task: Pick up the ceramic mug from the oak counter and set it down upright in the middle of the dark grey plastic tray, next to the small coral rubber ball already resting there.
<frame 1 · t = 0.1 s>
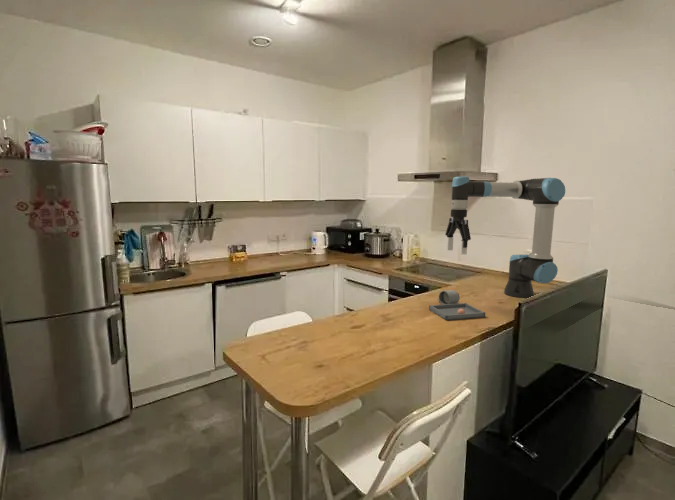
hand: (456, 252, 184), 28 cm above the table, fingers open, 13 cm apart
ceramic mug: (446, 304, 193), on the table
ball: (464, 310, 172), point 3 cm above the table, tilted 120°, touching tray
tray: (456, 313, 177), on the table
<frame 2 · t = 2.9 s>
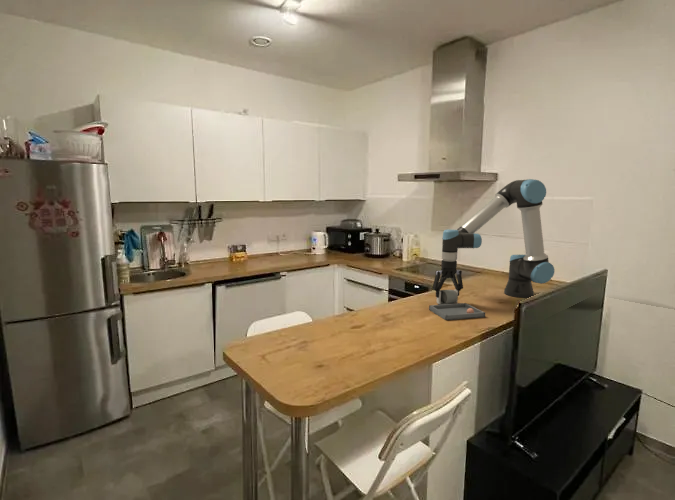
hand: (447, 302, 193), 0 cm above the table, fingers closed on ceramic mug, 9 cm apart
ceramic mug: (445, 303, 193), on the table, touching gripper
ball: (467, 313, 172), point 1 cm above the table, tilted 51°, touching tray
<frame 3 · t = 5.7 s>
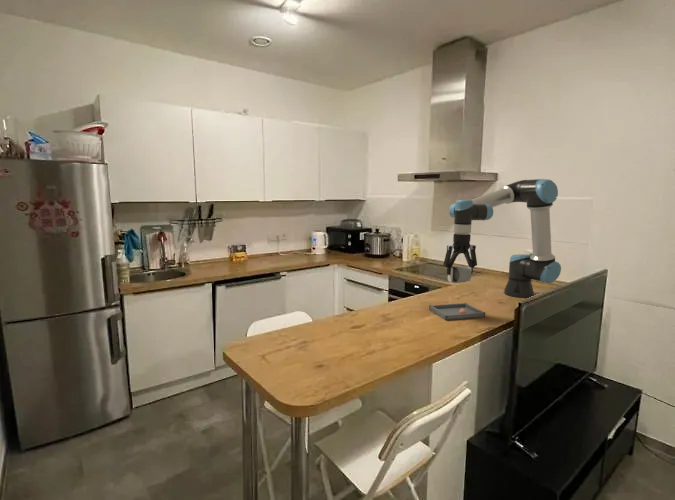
hand: (459, 281, 175), 16 cm above the table, fingers closed on ceramic mug, 9 cm apart
ceramic mug: (457, 282, 176), point 15 cm above the table, touching gripper
ball: (465, 311, 172), point 2 cm above the table, tilted 89°, touching tray
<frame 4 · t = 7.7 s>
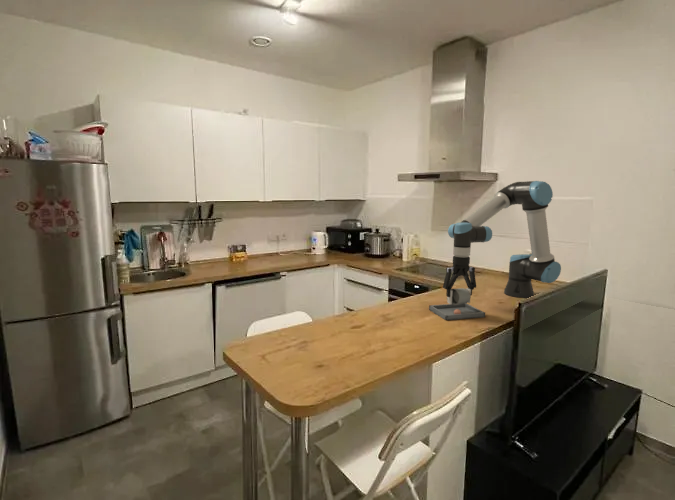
hand: (458, 302, 176), 5 cm above the table, fingers closed on ceramic mug, 9 cm apart
ceramic mug: (456, 303, 177), point 4 cm above the table, touching gripper
ball: (457, 309, 171), point 4 cm above the table, tilted 171°, touching tray
when the fingers open (2 cm above the table, at t = 8.9 s): ceramic mug stays where it is, resting on tray.
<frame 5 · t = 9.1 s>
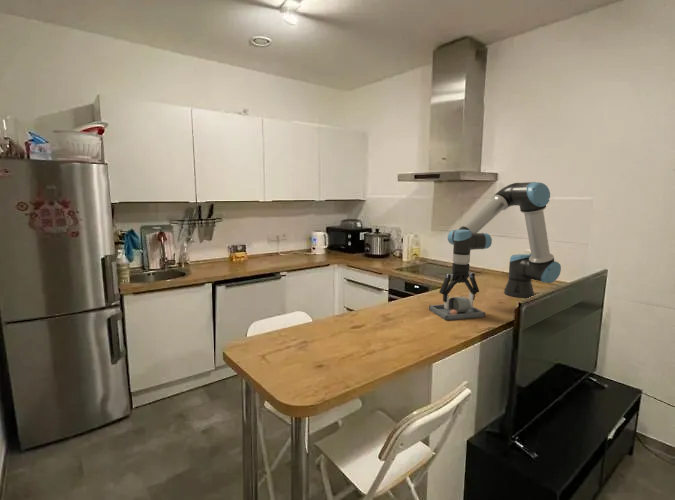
hand: (458, 307, 177), 3 cm above the table, fingers open, 12 cm apart
ceramic mug: (456, 311, 178), resting on tray
ball: (450, 312, 170), point 3 cm above the table, tilted 101°, touching tray
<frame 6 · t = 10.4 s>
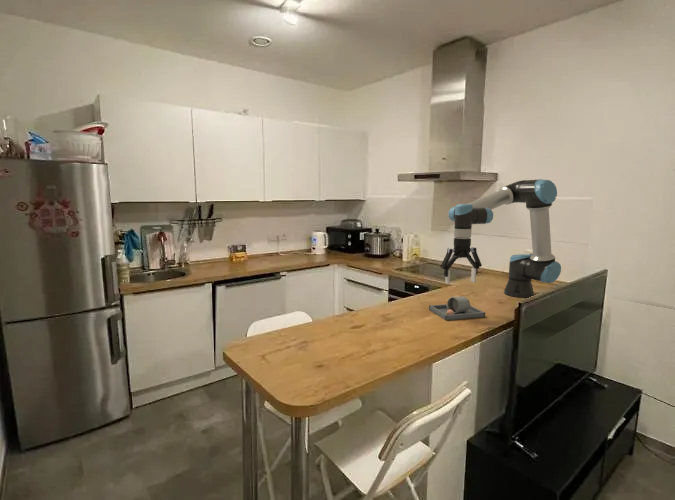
hand: (460, 282, 175), 15 cm above the table, fingers open, 13 cm apart
ball: (448, 315, 170), point 1 cm above the table, tilted 36°, touching tray
everything else where it was.
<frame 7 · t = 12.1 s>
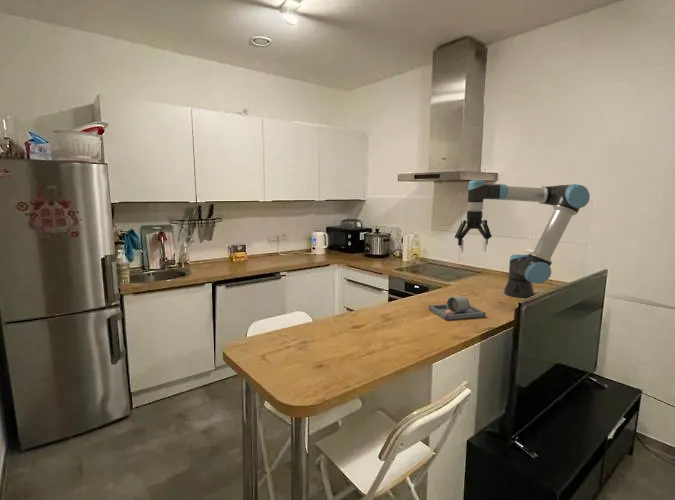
hand: (472, 251, 195), 27 cm above the table, fingers open, 13 cm apart
ball: (447, 316, 170), point 1 cm above the table, tilted 12°, touching tray
everything else where it was.
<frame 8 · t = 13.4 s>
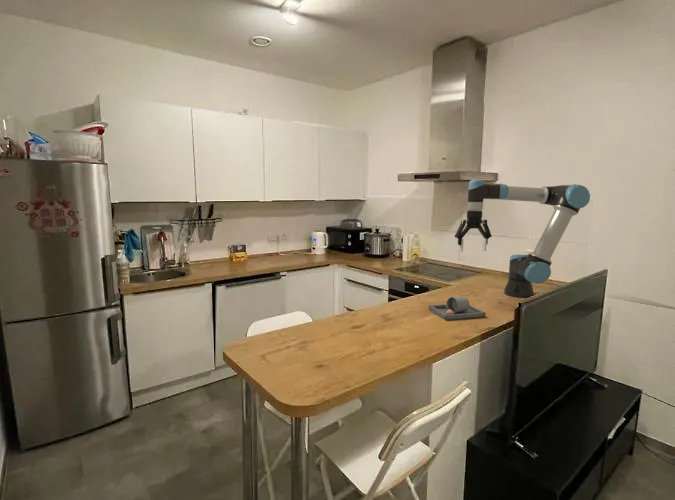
hand: (472, 251, 195), 27 cm above the table, fingers open, 13 cm apart
ball: (448, 316, 170), point 1 cm above the table, tilted 33°, touching tray
everything else where it was.
at the end: ceramic mug inside the target area on the tray (1.6 cm from its centre), point 0.4 cm above the tray's base; ceramic mug tilted 2° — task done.
